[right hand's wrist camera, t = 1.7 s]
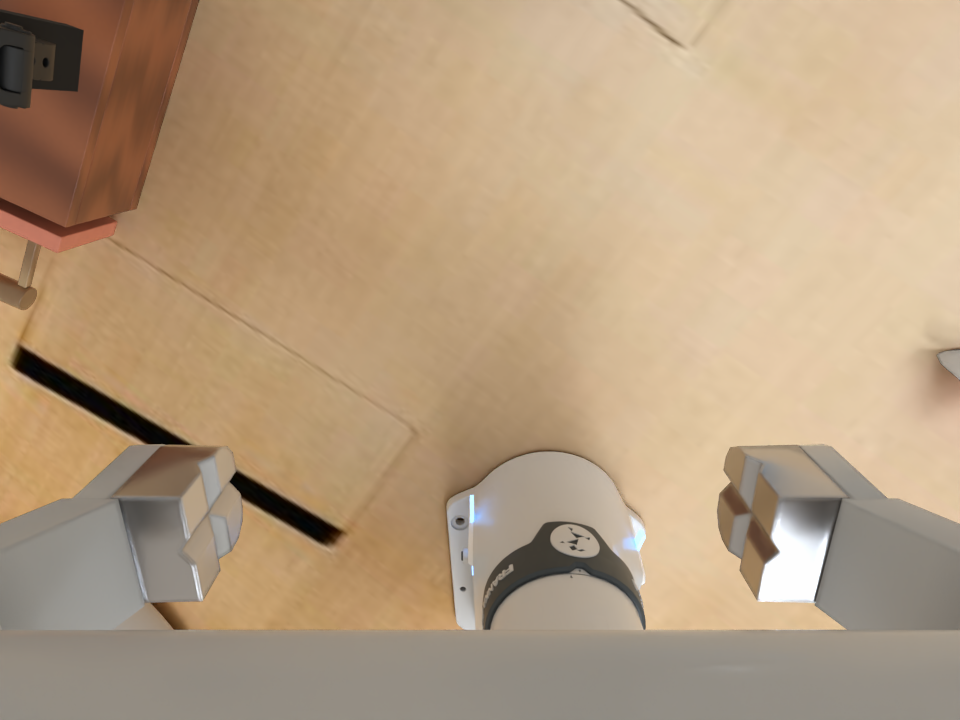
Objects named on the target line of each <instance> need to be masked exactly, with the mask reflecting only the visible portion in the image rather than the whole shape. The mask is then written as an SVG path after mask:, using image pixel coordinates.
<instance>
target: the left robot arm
mask: <svg viewBox="0 0 960 720" xmlns="http://www.w3.org/2000/svg"><path fill="white" fill-rule="evenodd" d="M83 33H84V30H82V29H79V28H76V27H74V26H71V25H68V24H65V23H60V22H56V21H51V20H47V19H42V18H38V17H34V16H29V15H25V14H20V13H16V12H11V11H7V10H2V9H0V105H2V106H5V107H9V108H14V109H18V107H19V108H24V109H26V108H30V104H31V92H32V89H43V90H59V91H74V92H78V84H79V74H80V64H81V53H82V43H83Z"/></svg>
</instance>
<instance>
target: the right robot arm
mask: <svg viewBox="0 0 960 720" xmlns="http://www.w3.org/2000/svg"><path fill="white" fill-rule="evenodd" d="M235 472H236V465H235V460H234V456H233V452H232V451H231V450H230V449H229V448H228V446H197V445H164V444H155V445H134V446H129V447H128V448H127V449H126V450H125V451H123V452H122V453H121V454H120V455H119V456H118V457H117V458H116V459H115V460H114V461H113V462H112V463H110V464H109V465H108V466H107V467H106V468H105V469H104V470H103V471H102V472H101V473H100V474H98V475H97V476H96V477H95V478H94V479H93V480H92V481H91V482H90V483H89V484H88V485H86V486H85V487H84V488H83V489H82V490H81V491H80V492H79V493H78V494H77V495H76V496H74V497H73V498H72V499H60V500H57V501H55V502H53V503H50V504H48V505H45V506H43V507H40V508H38V509H35V510H33V511H31V512H28V513H26V514H23V515H21V516H18V517H16V518H13V519H11V520H8V521H6V522H4V523H1V524H0V720H960V524H959V523H956V522H954V521H951V520H949V519H946V518H944V517H942V516H939V515H937V514H934V513H932V512H929V511H927V510H925V509H922V508H920V507H917V506H915V505H912V504H910V503H907V502H905V501H903V500H900V499H888V498H887V497H886V496H884V495H883V494H882V493H881V492H880V491H879V490H878V489H877V488H876V487H875V486H874V485H873V484H871V483H870V482H869V481H868V480H867V479H866V478H865V477H864V476H863V475H862V474H861V473H860V472H858V471H857V470H856V469H855V468H854V467H853V466H852V465H851V464H850V463H849V462H848V461H846V460H845V459H844V458H843V457H842V456H841V455H840V454H839V453H838V452H837V451H836V450H835V449H833V448H832V447H831V446H828V445H824V444H815V445H773V446H737V447H730V449H729V451H728V453H727V455H726V459H725V464H724V472H725V473H726V475H727V477H728V478H729V480H730V481H731V482H730V483H729V484H728V485H727V486H726V487H725V488H724V490H723V491H722V492H721V493H720V494H719V501H718V509H717V516H718V527H719V531H720V534H721V537H722V540H723V542H724V544H725V546H726V548H727V549H728V551H729V552H731V553H732V554H734V555H736V556H737V557H739V558H740V559H742V560H741V565H740V572H741V574H742V575H743V577H744V579H745V581H746V582H747V584H748V586H749V587H750V589H751V591H752V592H753V594H754V596H755V598H756V599H757V601H768V602H805V603H815V606H816V607H818V608H819V609H820V610H822V611H823V612H824V613H826V614H827V615H828V616H830V617H831V618H832V619H834V620H835V621H836V622H838V623H839V624H840V625H842V626H843V627H844V628H846V629H847V630H645V628H646V625H645V615H644V610H643V602H642V599H641V595H640V592H639V590H640V587H641V585H643V584H644V583H645V572H644V568H643V563H642V559H641V555H640V551H639V550H640V548H641V546H642V544H643V542H644V540H645V538H646V536H645V526H644V523H643V521H642V519H641V518H640V517H639V516H638V515H637V514H636V513H634V512H633V511H632V510H631V509H629V508H628V507H627V506H626V505H625V504H624V502H623V500H622V498H621V496H620V494H619V492H618V490H617V488H616V486H615V484H614V483H613V481H612V480H611V479H610V477H609V476H608V475H607V474H606V473H605V472H604V471H603V470H602V469H601V468H599V467H598V466H597V465H595V464H593V463H592V462H590V461H588V460H586V459H584V458H581V457H579V456H576V455H572V454H568V453H563V452H552V451H546V452H535V453H530V454H525V455H522V456H519V457H516V458H514V459H511V460H509V461H507V462H505V463H503V464H502V465H500V466H499V467H497V468H496V469H495V470H493V471H492V472H491V473H490V474H489V475H488V476H487V477H486V478H485V479H484V480H483V481H481V482H480V483H479V484H478V485H477V486H475V487H474V488H471V489H468V490H466V491H463V492H461V493H459V494H456V495H455V496H453V497H451V498H450V499H449V500H448V502H447V505H446V510H447V522H448V534H449V545H450V557H451V569H452V581H453V592H454V604H455V615H456V622H457V624H458V625H459V626H460V627H461V628H463V629H464V630H113V629H114V628H116V627H117V626H118V625H120V624H121V623H122V622H124V621H125V620H126V619H128V618H129V617H130V616H132V615H133V614H134V613H136V612H137V611H138V610H140V609H141V608H142V607H144V606H145V603H155V602H190V601H203V599H204V598H205V596H206V594H207V593H208V591H209V589H210V587H211V586H212V584H213V582H214V581H215V579H216V577H217V575H218V574H219V572H220V565H219V560H218V559H220V558H221V557H223V556H224V555H226V554H228V553H229V552H231V551H232V549H233V547H234V546H235V544H236V542H237V540H238V538H239V534H240V529H241V525H242V514H243V506H242V500H241V494H240V493H239V492H238V491H237V490H236V488H235V487H234V486H233V485H232V484H231V483H230V482H229V481H230V480H231V478H232V477H233V475H234V473H235ZM457 518H463V519H464V520H462V521H459V520H457Z"/></svg>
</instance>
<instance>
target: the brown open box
mask: <svg viewBox="0 0 960 720" xmlns="http://www.w3.org/2000/svg"><path fill="white" fill-rule="evenodd" d="M198 2H199V0H0V9H2V10H7V11H11V12H16V13H20V14H25V15H29V16H34V17H38V18H42V19H47V20H51V21H56V22H60V23H65V24H68V25H71V26H74V27H76V28H79V29H82V30H84V33H83V43H82V53H81V64H80V74H79V84H78V92H74V91H59V90H43V89H32V92H31V104H30V108H26V109H24V108H19V107H18V109H14V108H9V107H5V106H2V105H0V198H3V199H5V200H7V201H9V202H11V203H13V204H16V205H18V206H20V207H22V208H24V209H27V210H29V211H31V212H33V213H35V214H37V215H40V216H42V217H44V218H46V219H48V220H50V221H53V222H55V223H57V224H59V225H61V226H63V227H69V226H73V225H76V224H80V223H83V222H87V221H91V220H95V219H99V218H102V217H106V216H110V215H114V214H118V213H121V212H125V211H129V210H133V209H136V208H137V205H138V202H139V198H140V195H141V192H142V188H143V185H144V182H145V178H146V175H147V172H148V168H149V165H150V162H151V158H152V155H153V152H154V148H155V145H156V142H157V138H158V135H159V132H160V128H161V125H162V122H163V119H164V115H165V112H166V109H167V105H168V102H169V99H170V95H171V92H172V89H173V85H174V82H175V79H176V75H177V72H178V69H179V65H180V62H181V59H182V55H183V52H184V49H185V45H186V42H187V39H188V35H189V32H190V29H191V25H192V22H193V19H194V15H195V12H196V9H197V6H198Z"/></svg>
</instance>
